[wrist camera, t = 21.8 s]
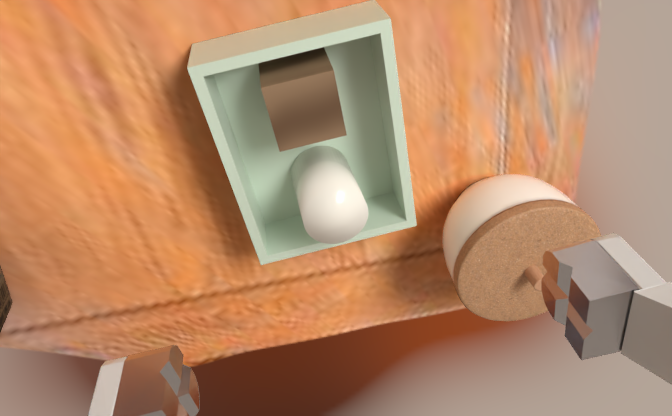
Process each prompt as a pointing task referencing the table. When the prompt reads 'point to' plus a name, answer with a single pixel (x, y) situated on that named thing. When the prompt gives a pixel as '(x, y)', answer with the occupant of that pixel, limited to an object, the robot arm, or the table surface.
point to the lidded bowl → (508, 243)
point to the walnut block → (302, 99)
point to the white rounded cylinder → (328, 195)
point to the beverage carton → (4, 300)
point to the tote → (357, 146)
